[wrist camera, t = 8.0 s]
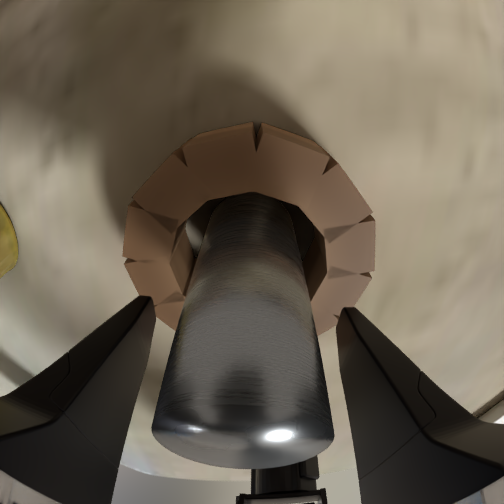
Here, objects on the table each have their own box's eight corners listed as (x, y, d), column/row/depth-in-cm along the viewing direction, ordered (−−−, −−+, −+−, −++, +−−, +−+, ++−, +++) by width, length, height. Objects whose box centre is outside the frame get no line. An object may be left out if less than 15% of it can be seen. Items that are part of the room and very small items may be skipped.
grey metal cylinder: (247, 280, 15) (239, 475, 7) (191, 228, 14) (120, 428, 5) (310, 235, 14) (363, 440, 6) (254, 173, 13) (249, 378, 4)
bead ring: (243, 336, 18) (241, 375, 15) (111, 225, 14) (84, 256, 11) (388, 242, 14) (411, 275, 12) (260, 77, 10) (261, 72, 8)
